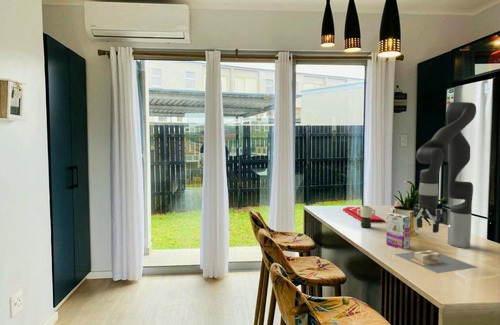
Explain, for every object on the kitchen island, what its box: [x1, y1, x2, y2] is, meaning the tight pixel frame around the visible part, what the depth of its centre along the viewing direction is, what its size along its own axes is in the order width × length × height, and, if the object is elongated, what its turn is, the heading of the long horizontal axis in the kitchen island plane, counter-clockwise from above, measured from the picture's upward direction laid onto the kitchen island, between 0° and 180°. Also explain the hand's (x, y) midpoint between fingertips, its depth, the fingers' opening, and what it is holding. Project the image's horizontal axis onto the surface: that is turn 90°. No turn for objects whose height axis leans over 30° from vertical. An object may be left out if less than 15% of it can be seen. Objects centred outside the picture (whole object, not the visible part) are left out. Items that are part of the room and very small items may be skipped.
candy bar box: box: [386, 212, 412, 250], centre depth 170 cm, size 11×5×16 cm, turn 23°
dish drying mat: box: [342, 206, 386, 223], centre depth 243 cm, size 16×41×4 cm, turn 3°
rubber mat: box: [394, 249, 478, 274], centre depth 149 cm, size 24×22×1 cm
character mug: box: [357, 205, 376, 228], centre depth 211 cm, size 11×7×13 cm, turn 82°
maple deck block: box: [413, 249, 440, 264], centre depth 147 cm, size 9×5×4 cm, turn 108°
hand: (427, 229), depth 147 cm, fingers open, 8 cm apart
